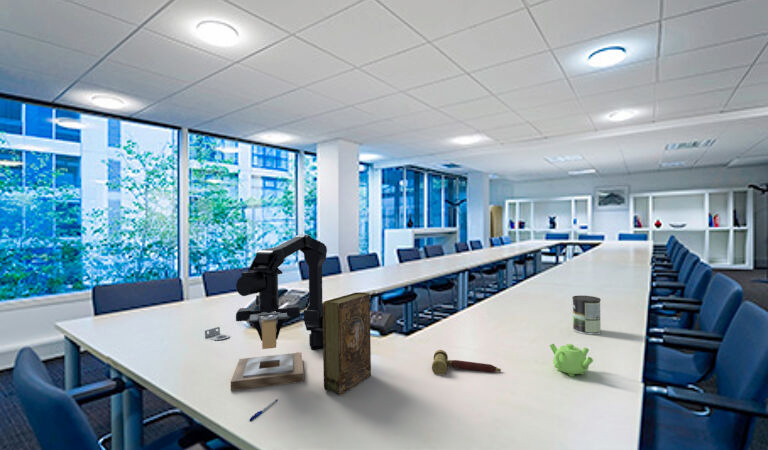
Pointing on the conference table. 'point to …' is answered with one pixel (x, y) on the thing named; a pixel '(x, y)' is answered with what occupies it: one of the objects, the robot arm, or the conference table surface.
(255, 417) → the ballpoint pen
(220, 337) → the bracket
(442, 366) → the gavel
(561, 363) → the teapot
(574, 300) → the coffee can
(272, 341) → the tan cardboard-colored box
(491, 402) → the conference table surface
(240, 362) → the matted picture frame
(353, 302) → the book
